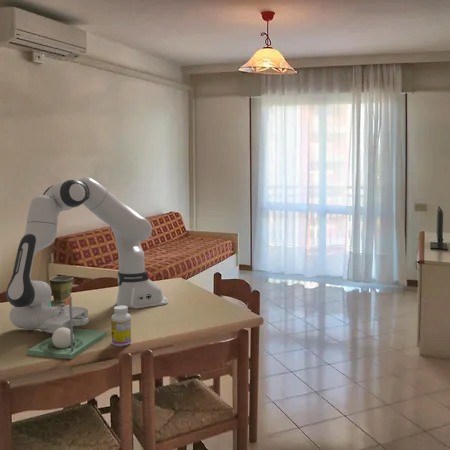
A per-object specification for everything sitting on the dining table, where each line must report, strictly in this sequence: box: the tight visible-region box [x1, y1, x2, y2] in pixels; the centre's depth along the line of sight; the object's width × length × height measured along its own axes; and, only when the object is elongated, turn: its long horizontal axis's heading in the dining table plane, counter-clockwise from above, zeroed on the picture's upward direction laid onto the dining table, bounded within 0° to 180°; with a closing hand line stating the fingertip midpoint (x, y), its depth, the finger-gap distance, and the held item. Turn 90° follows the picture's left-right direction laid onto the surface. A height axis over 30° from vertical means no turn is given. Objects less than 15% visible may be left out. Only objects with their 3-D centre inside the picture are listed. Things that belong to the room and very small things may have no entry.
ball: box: [51, 327, 74, 350], centre depth 183 cm, size 7×7×7 cm
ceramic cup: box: [48, 275, 74, 303], centre depth 244 cm, size 13×10×10 cm
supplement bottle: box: [110, 305, 132, 347], centre depth 187 cm, size 7×7×13 cm
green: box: [27, 296, 108, 360], centre depth 185 cm, size 24×16×20 cm, turn 165°
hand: (86, 321), depth 195 cm, fingers closed
